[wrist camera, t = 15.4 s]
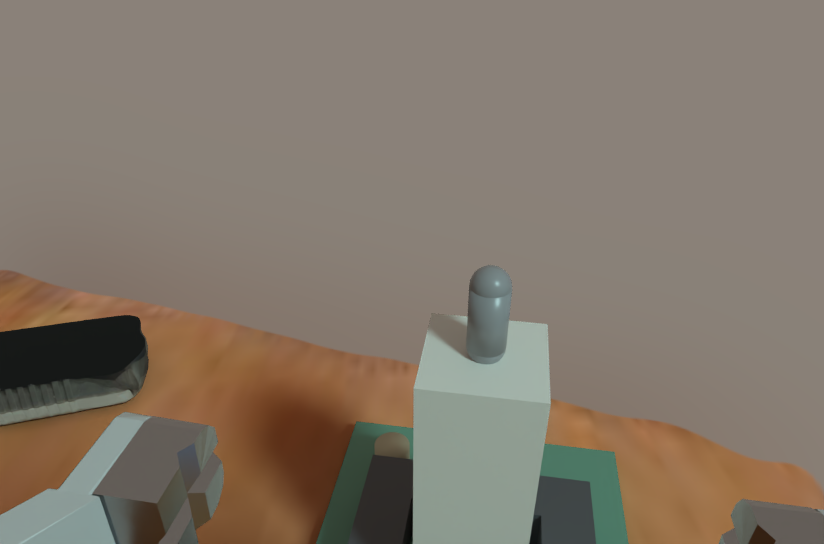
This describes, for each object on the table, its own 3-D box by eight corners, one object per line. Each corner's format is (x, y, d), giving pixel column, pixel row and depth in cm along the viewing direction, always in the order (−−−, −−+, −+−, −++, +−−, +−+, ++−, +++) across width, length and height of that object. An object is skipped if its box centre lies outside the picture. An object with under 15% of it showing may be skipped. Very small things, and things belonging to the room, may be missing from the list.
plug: (511, 661, 28) (564, 312, 18) (412, 645, 28) (414, 298, 19) (513, 552, 32) (557, 229, 23) (428, 540, 33) (437, 220, 23)
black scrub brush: (-130, 462, 39) (-157, 418, 37) (-80, 376, 46) (-101, 336, 44) (150, 412, 43) (138, 370, 41) (157, 340, 50) (147, 301, 48)
